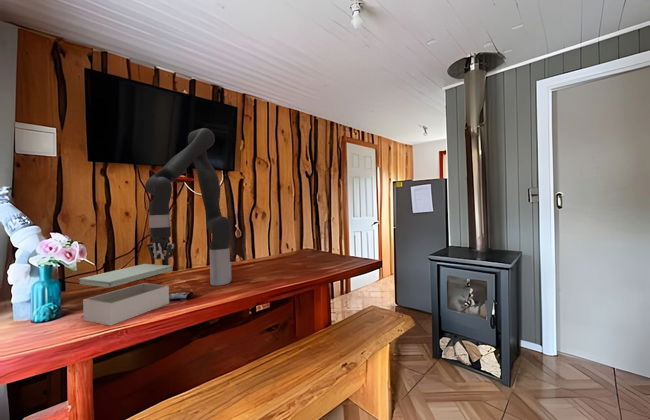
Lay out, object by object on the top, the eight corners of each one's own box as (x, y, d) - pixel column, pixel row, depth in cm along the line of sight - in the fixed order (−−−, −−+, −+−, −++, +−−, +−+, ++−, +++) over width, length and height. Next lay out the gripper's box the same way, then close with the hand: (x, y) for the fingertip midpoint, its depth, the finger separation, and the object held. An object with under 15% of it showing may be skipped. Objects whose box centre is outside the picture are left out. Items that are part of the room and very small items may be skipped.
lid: (153, 266, 117) (152, 256, 117) (180, 268, 112) (180, 258, 112) (79, 283, 93) (78, 272, 92) (109, 287, 87) (108, 275, 87)
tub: (144, 299, 113) (143, 282, 113) (169, 303, 108) (168, 285, 108) (83, 320, 93) (83, 299, 93) (110, 325, 88) (109, 303, 88)
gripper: (180, 225, 113) (182, 266, 114) (156, 225, 118) (158, 265, 119) (164, 226, 106) (166, 271, 107) (139, 226, 111) (141, 269, 112)
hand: (162, 267), depth 113 cm, fingers closed on lid, 3 cm apart
